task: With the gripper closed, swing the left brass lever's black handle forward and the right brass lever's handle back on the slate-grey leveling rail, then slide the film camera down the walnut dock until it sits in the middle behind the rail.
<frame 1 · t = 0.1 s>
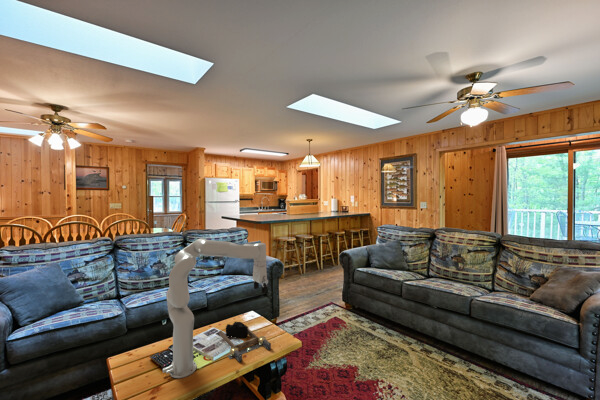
hand: (260, 290, 162), 31 cm above the table, fingers open, 9 cm apart
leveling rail: (249, 349, 153), on the table
dock: (238, 338, 164), on the table
lever right: (265, 342, 156), point 2 cm above the table, hinge at 0.0°
film camera: (237, 335, 169), on the table
lever left: (236, 354, 145), point 2 cm above the table, hinge at 0.0°
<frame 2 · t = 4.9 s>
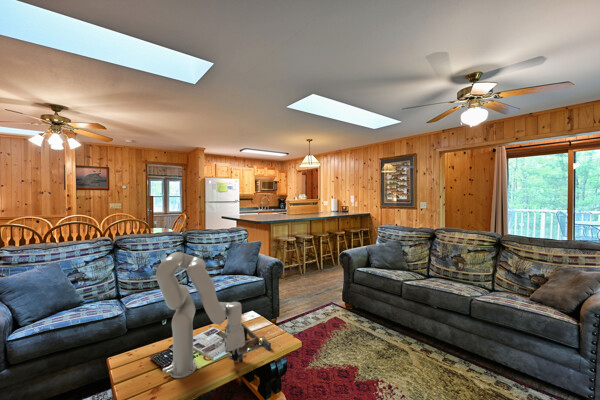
hand: (234, 359, 141), 1 cm above the table, fingers closed
film camera: (237, 337, 167), on the table
lever left: (237, 353, 145), point 2 cm above the table, hinge at 3.1°, touching gripper
everything else where it was.
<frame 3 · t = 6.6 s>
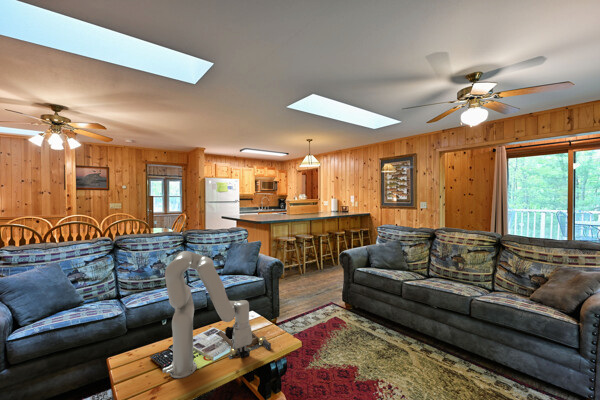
hand: (242, 357, 144), 1 cm above the table, fingers closed
lever left: (240, 351, 147), point 2 cm above the table, hinge at 42.5°, touching gripper
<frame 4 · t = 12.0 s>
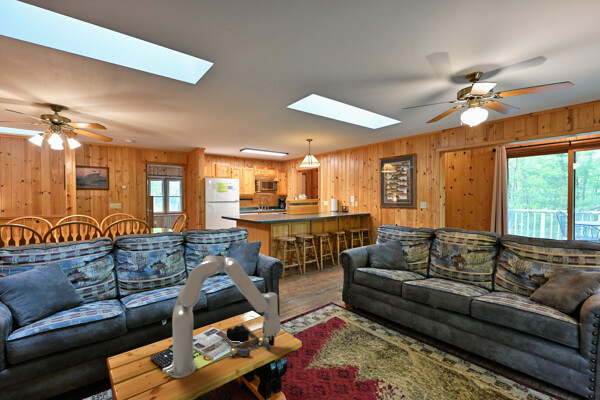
hand: (271, 345, 155), 1 cm above the table, fingers closed
lever right: (264, 342, 156), point 2 cm above the table, hinge at -2.7°, touching gripper
film camera: (239, 339, 164), on the table
lever left: (240, 351, 147), point 2 cm above the table, hinge at 42.8°
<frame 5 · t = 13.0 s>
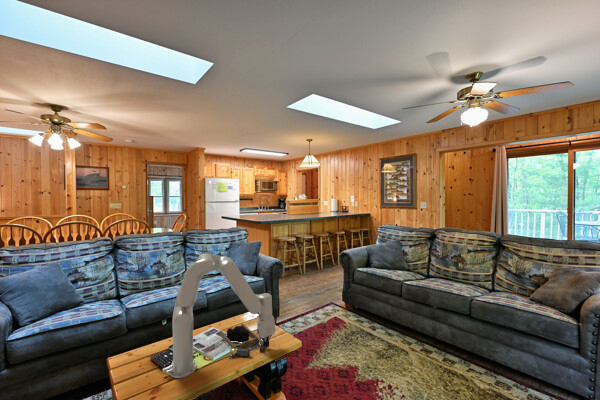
hand: (266, 346, 153), 2 cm above the table, fingers closed
lever right: (261, 343, 155), point 2 cm above the table, hinge at -33.7°, touching gripper
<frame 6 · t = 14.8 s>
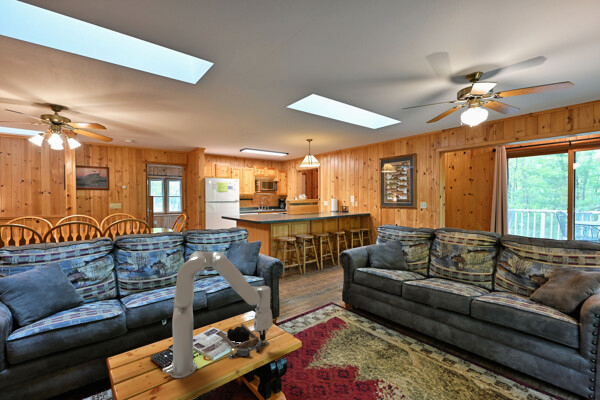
hand: (262, 339, 152), 6 cm above the table, fingers closed
lever right: (260, 343, 155), point 2 cm above the table, hinge at -47.9°
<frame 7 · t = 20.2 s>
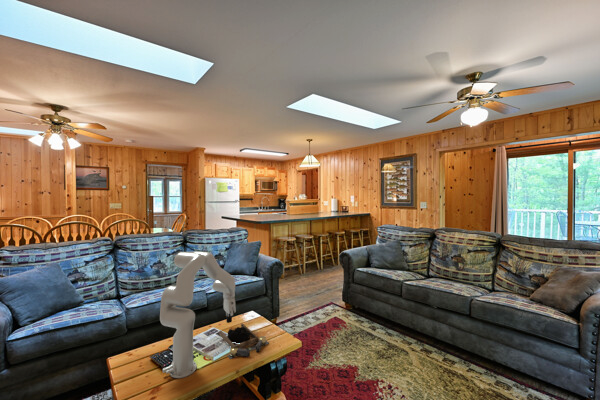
hand: (229, 322, 176), 5 cm above the table, fingers closed
film camera: (240, 340, 162), on the table
everything else where it was.
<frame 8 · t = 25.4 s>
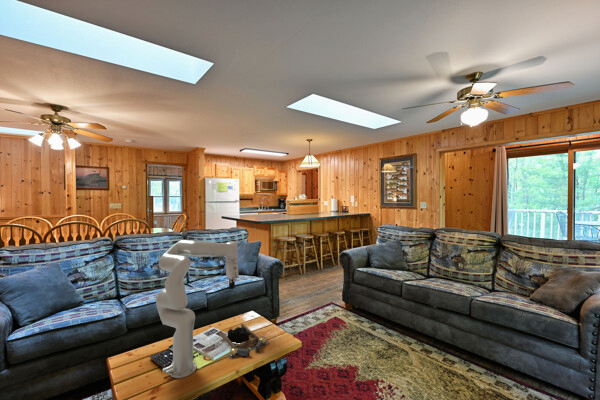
hand: (231, 288, 172), 29 cm above the table, fingers closed
nothing on the table moved.
at the end: lever left at +43° (first picture: +0°); lever right at -48° (first picture: +0°); film camera inside the target area (0.2 cm from its centre), on the table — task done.
